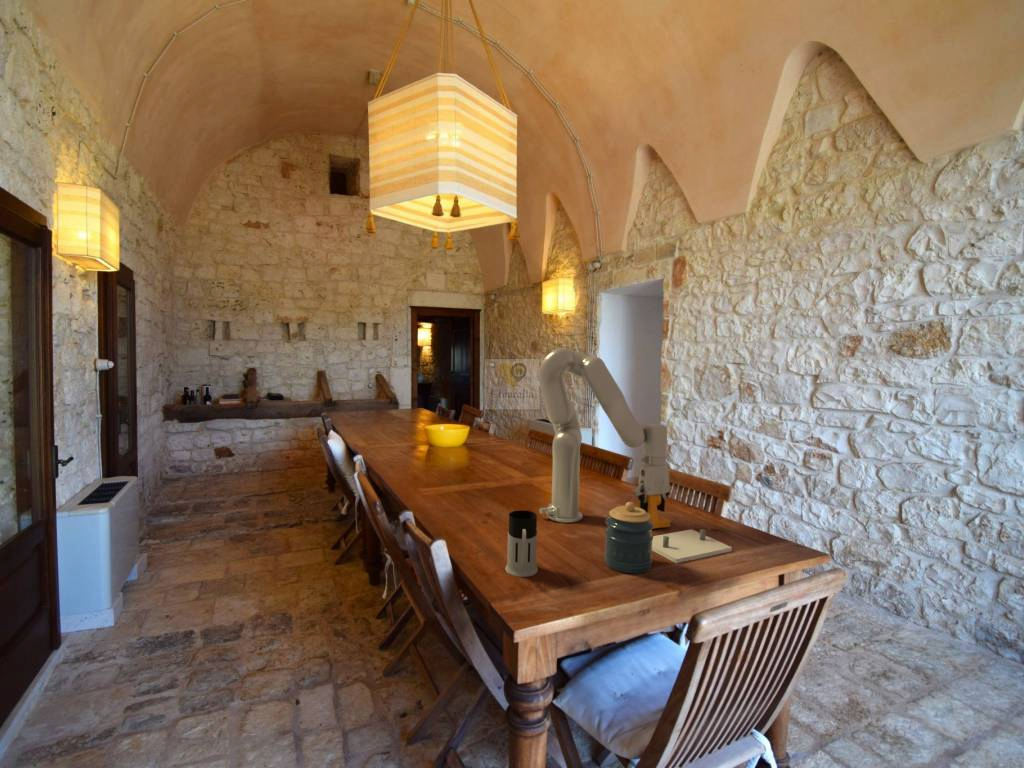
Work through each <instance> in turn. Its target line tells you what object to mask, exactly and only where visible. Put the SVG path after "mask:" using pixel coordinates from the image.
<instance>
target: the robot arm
mask: <svg viewBox="0 0 1024 768" xmlns="http://www.w3.org/2000/svg"><path fill="white" fill-rule="evenodd" d="M565 373H566V374H570V375H573V376H577V377H580V378H583V379H584V380H585V382H586V383H587V385H588V387H589V388H590V390H591V392H592V393H593V395H594V396H595V399H596V400H597V402H598V403H599V405H600V407H601V409H602V410H603V412H604V413H605V414H606V416H607V418H608V419H609V421H610V422H611V424H612V426H613V428H614V429H615V431H616V433H617V434H618V436H619V438H620V439H621V441H622V442H623V444H624V445H625V446H627V447H629V448H633V449H634V448H639V447H640V446H642V445H643V451H642V452H643V455H642V458H641V460H640V461H641V463H642V464H641V466H640V471H639V477H638V486H636V488H635V489H634V490H633V494H634V495H635V496H636V498H637V499H638V500H639V501H640V508H641V509H643V510H645V511H646V512H647V511H648V503H647V500H648V495H649V496H652V495H661V503H660V505H658V506H657V511H660V512H662V513H663V512H665V510H666V509H665V507H666V501H667V499H668V496H669V495H670V492H671V491H672V489H673V487H672V486H671V485H670V471H669V466H668V464H667V443H668V427H667V426H666V425H665V424H659V423H641V422H638V420H637V419H636V416H635V415H634V414H633V412H632V410H631V408H630V407H629V404H628V403H627V401H626V400H627V399H626V398H625V396H624V393H623V392H622V390H621V388H620V386H619V385H618V383H617V382H616V380H615V379H614V377H613V376H612V374H611V372H610V370H609V369H608V367H607V365H606V364H605V361H604V360H603V359H602V358H600V357H598V356H593V355H589V354H587V353H586V354H585V353H583V352H578V351H575V350H572V349H568V348H566V347H565V348H564V347H560V348H559V347H557V348H556V349H553V350H551V351H550V352H549V353H548V354H547V355H546V356H545V357H544V358H543V359H542V362H541V363H540V366H539V369H538V381H539V387H540V389H541V395H542V400H543V403H544V407H545V411H546V412H545V413H546V417H547V419H548V421H549V422H550V423H551V425H552V427H553V430H554V434H555V435H554V437H553V439H552V446H551V447H552V448H551V449H552V452H551V453H552V469H551V471H552V475H551V477H552V478H551V479H552V483H551V503H548V506H547V507H540V508H539V509H538V511H539V514H540V515H541V514H546V516H547V518H548V519H549V520H552V521H554V522H558V523H567V524H568V523H576V522H580V521H582V519H583V513H582V512H581V511H579V500H580V496H579V495H580V493H579V492H580V471H581V470H580V467H581V466H580V465H581V462H580V461H581V455H580V454H581V445H582V439H583V437H582V431H581V428H580V424H579V419H578V417H577V412H576V408H575V406H574V404H573V402H572V400H570V399H569V396H568V393H567V388H566V384H565V382H564V374H565ZM644 495H645V497H644Z"/></svg>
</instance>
